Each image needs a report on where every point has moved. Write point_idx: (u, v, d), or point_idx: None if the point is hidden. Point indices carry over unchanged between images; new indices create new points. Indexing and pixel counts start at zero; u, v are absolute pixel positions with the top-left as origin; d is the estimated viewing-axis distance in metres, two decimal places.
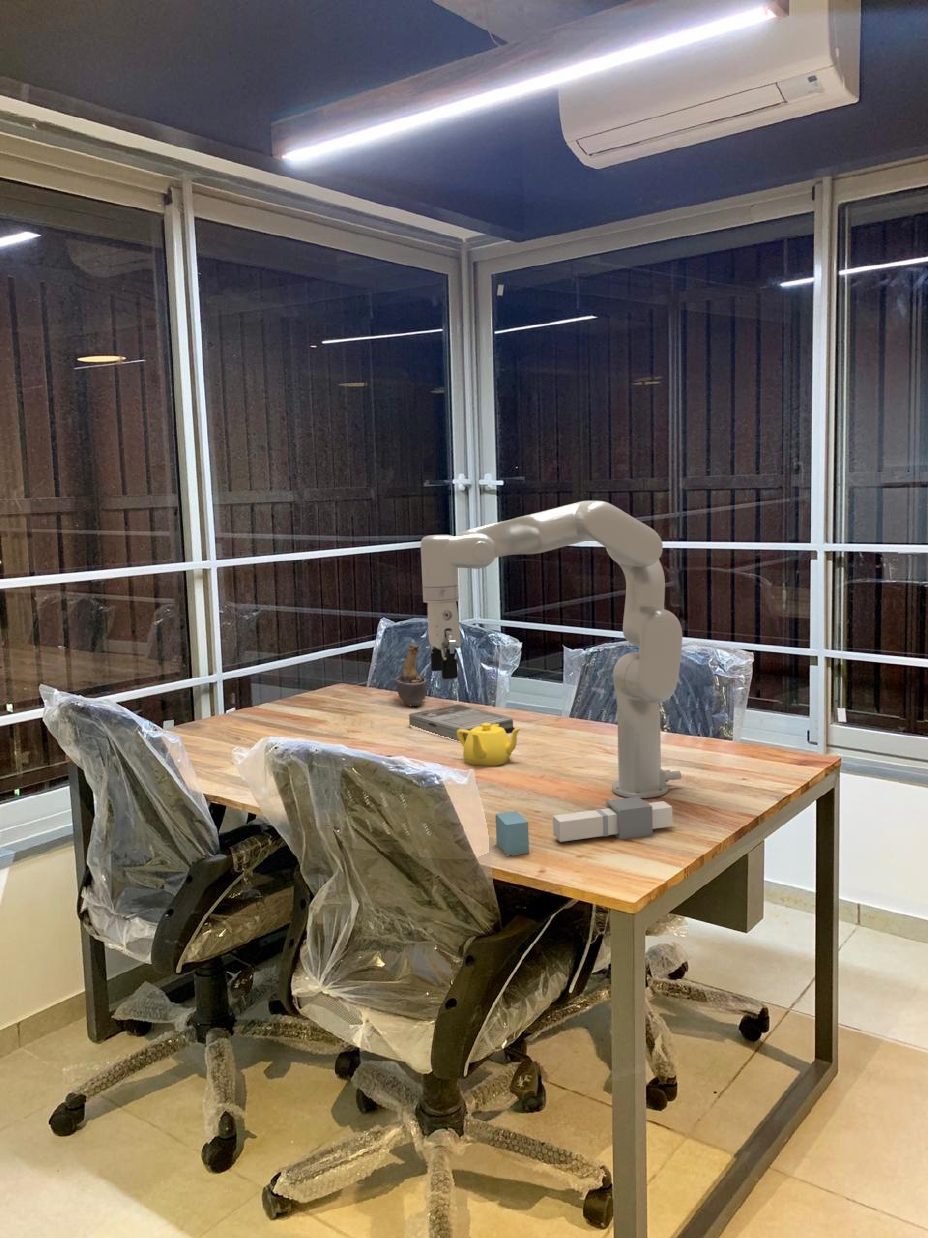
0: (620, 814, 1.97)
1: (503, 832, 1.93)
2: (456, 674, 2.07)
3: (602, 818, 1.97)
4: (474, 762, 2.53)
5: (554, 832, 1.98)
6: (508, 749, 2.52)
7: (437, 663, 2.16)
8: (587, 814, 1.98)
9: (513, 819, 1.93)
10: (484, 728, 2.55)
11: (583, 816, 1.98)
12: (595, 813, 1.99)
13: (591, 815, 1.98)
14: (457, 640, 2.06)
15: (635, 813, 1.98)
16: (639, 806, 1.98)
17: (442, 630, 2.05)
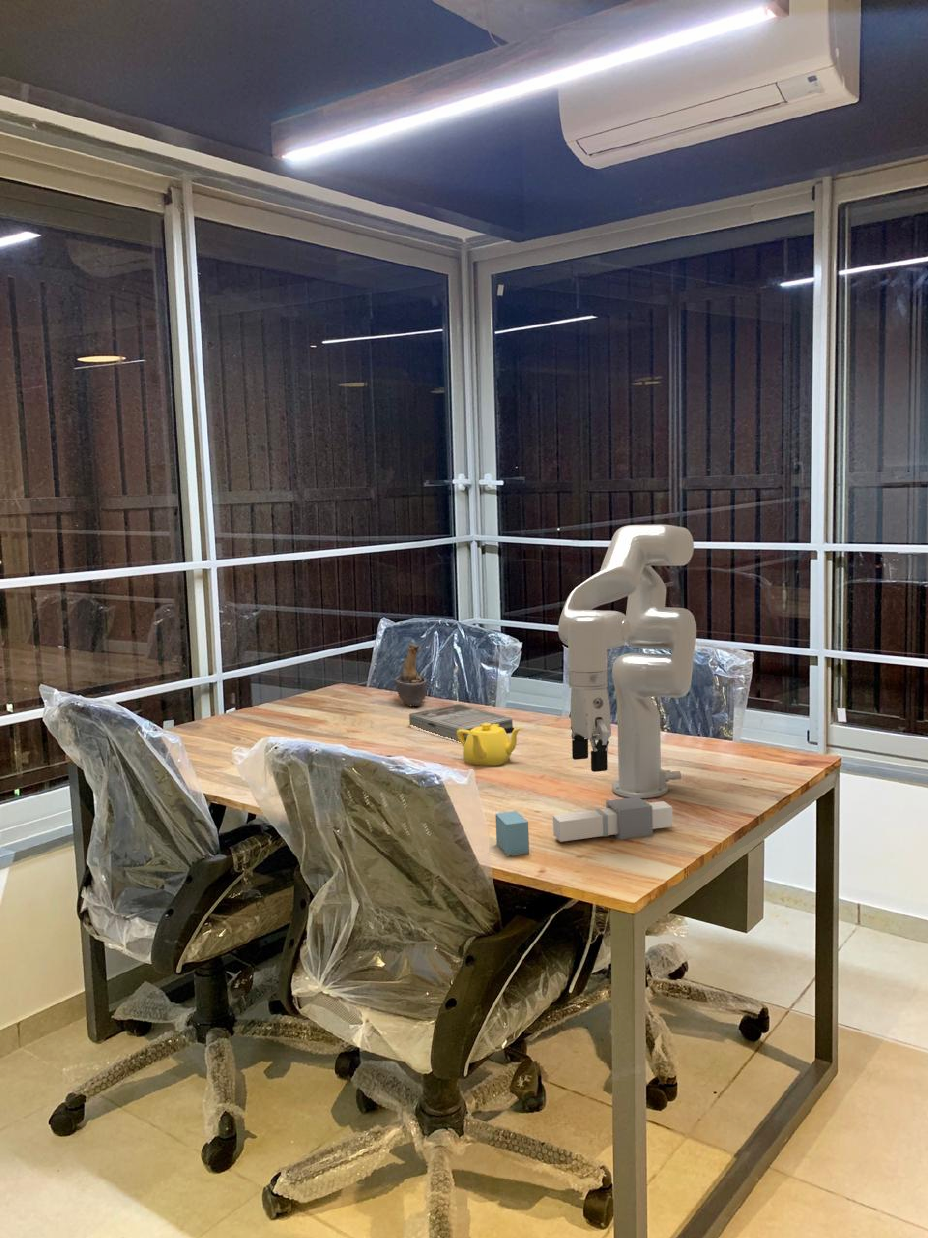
0: (620, 814, 1.97)
1: (503, 832, 1.93)
2: (606, 766, 1.92)
3: (602, 818, 1.97)
4: (474, 762, 2.53)
5: (554, 832, 1.98)
6: (508, 749, 2.52)
7: (579, 751, 2.01)
8: (587, 814, 1.98)
9: (513, 819, 1.93)
10: (484, 728, 2.55)
11: (583, 816, 1.98)
12: (595, 813, 1.99)
13: (591, 815, 1.98)
14: (608, 729, 1.92)
15: (635, 813, 1.98)
16: (639, 806, 1.98)
17: (593, 719, 1.91)
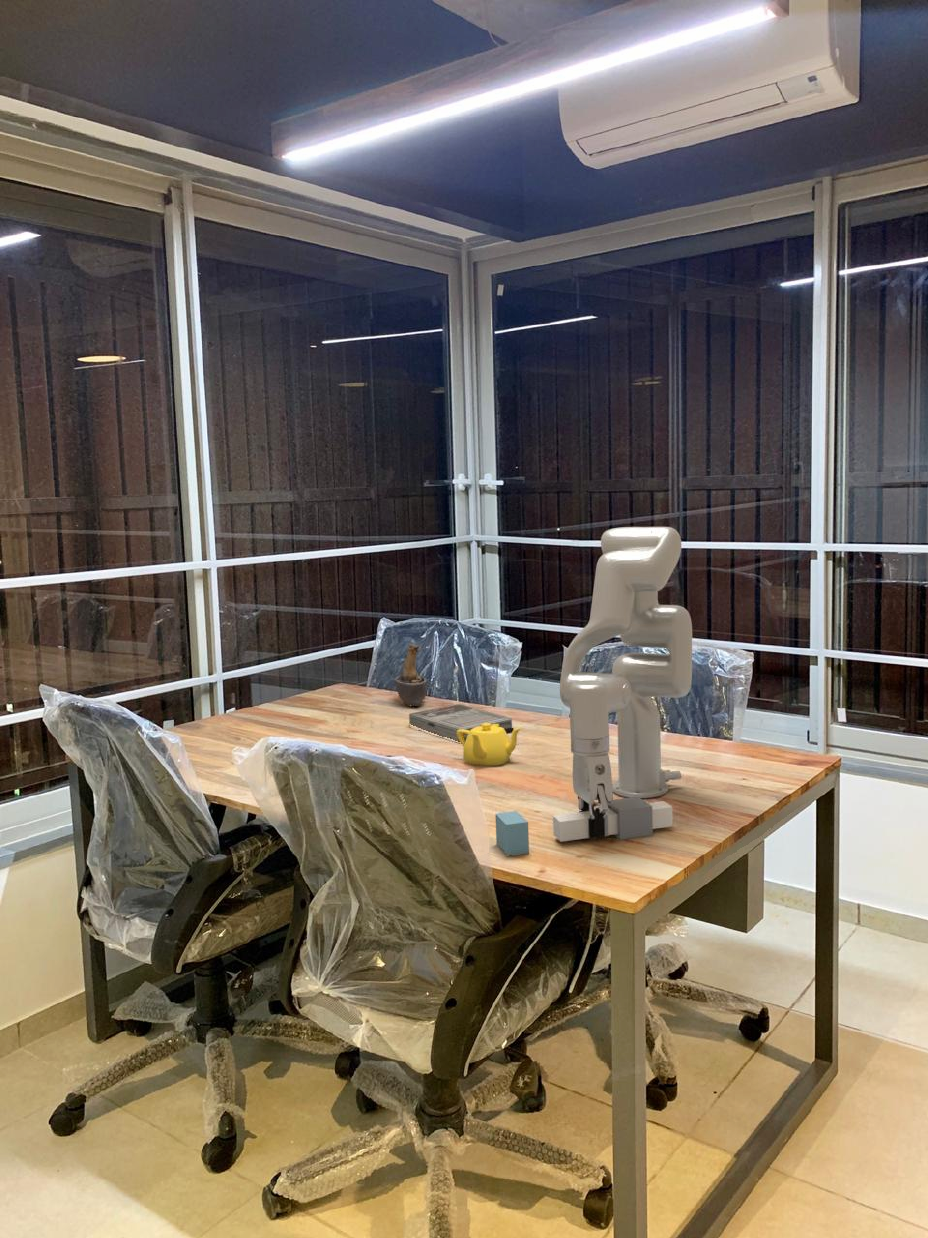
0: (620, 814, 1.97)
1: (503, 832, 1.93)
2: (603, 833, 1.97)
3: None
4: (474, 762, 2.53)
5: (555, 832, 1.98)
6: (508, 749, 2.52)
7: None
8: (587, 814, 1.98)
9: (513, 819, 1.93)
10: (484, 728, 2.55)
11: (583, 816, 1.98)
12: None
13: None
14: (610, 795, 1.94)
15: (635, 813, 1.98)
16: (639, 806, 1.98)
17: (595, 785, 1.93)
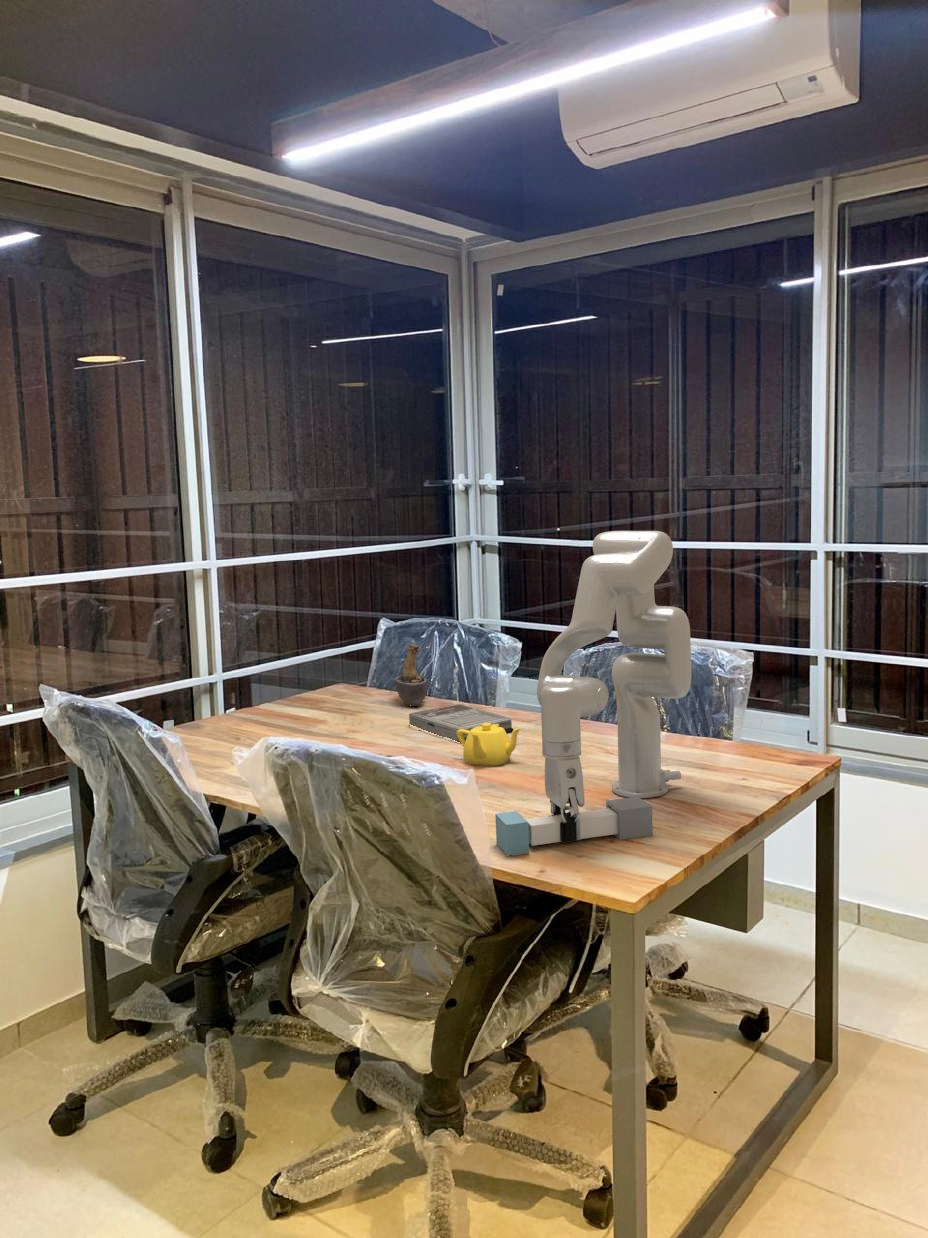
0: (620, 814, 1.97)
1: (503, 832, 1.93)
2: (575, 837, 1.95)
3: None
4: (474, 762, 2.53)
5: None
6: (508, 749, 2.52)
7: None
8: (559, 818, 1.97)
9: (513, 819, 1.93)
10: (484, 728, 2.55)
11: (555, 820, 1.96)
12: None
13: None
14: (581, 799, 1.92)
15: (635, 813, 1.98)
16: (639, 806, 1.98)
17: (566, 789, 1.91)
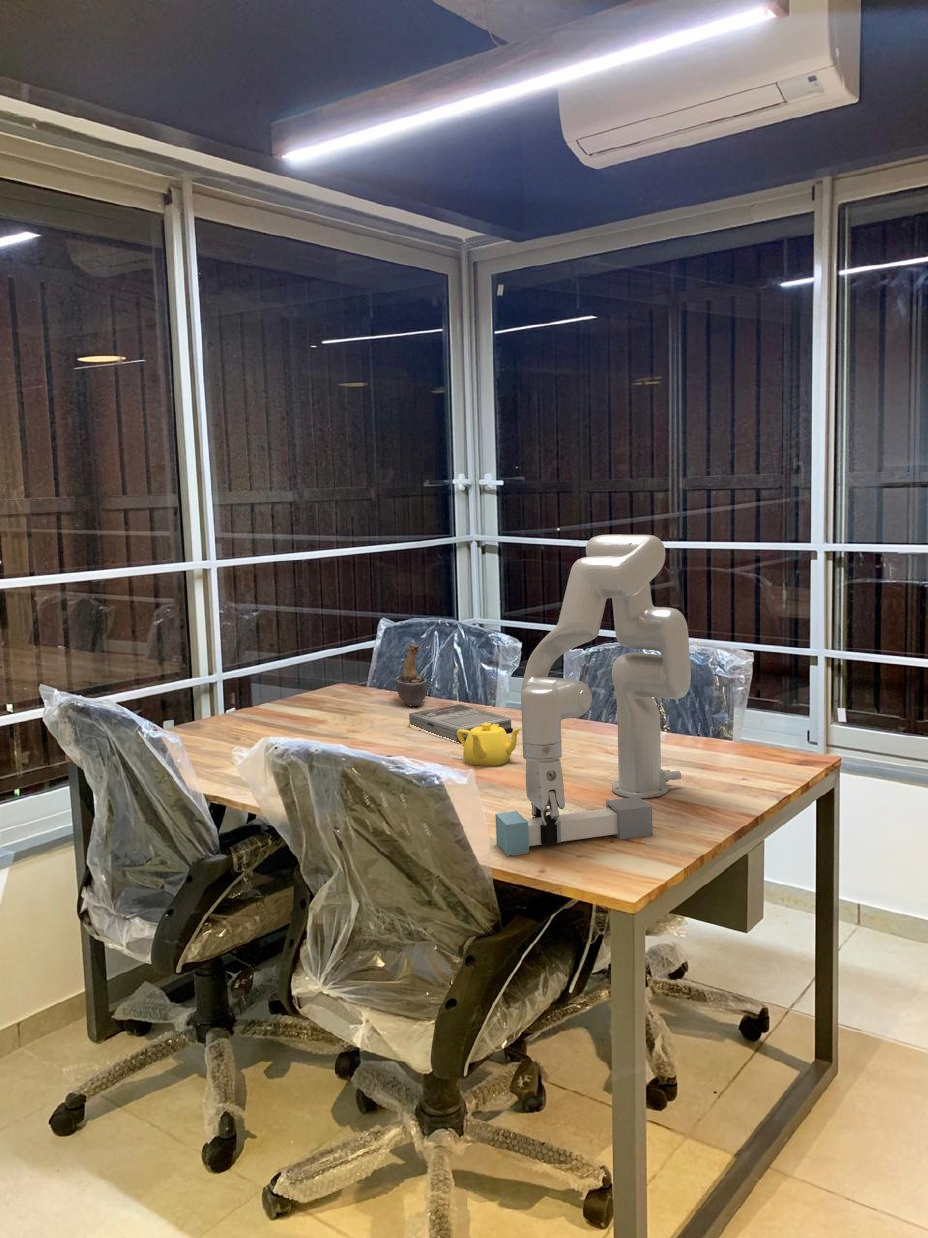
0: (620, 814, 1.97)
1: (503, 832, 1.93)
2: (556, 839, 1.94)
3: None
4: (474, 762, 2.53)
5: None
6: (508, 749, 2.52)
7: None
8: (539, 821, 1.96)
9: (513, 819, 1.93)
10: (484, 728, 2.55)
11: (535, 822, 1.95)
12: None
13: None
14: (562, 801, 1.91)
15: (635, 813, 1.98)
16: (639, 806, 1.98)
17: (546, 792, 1.90)
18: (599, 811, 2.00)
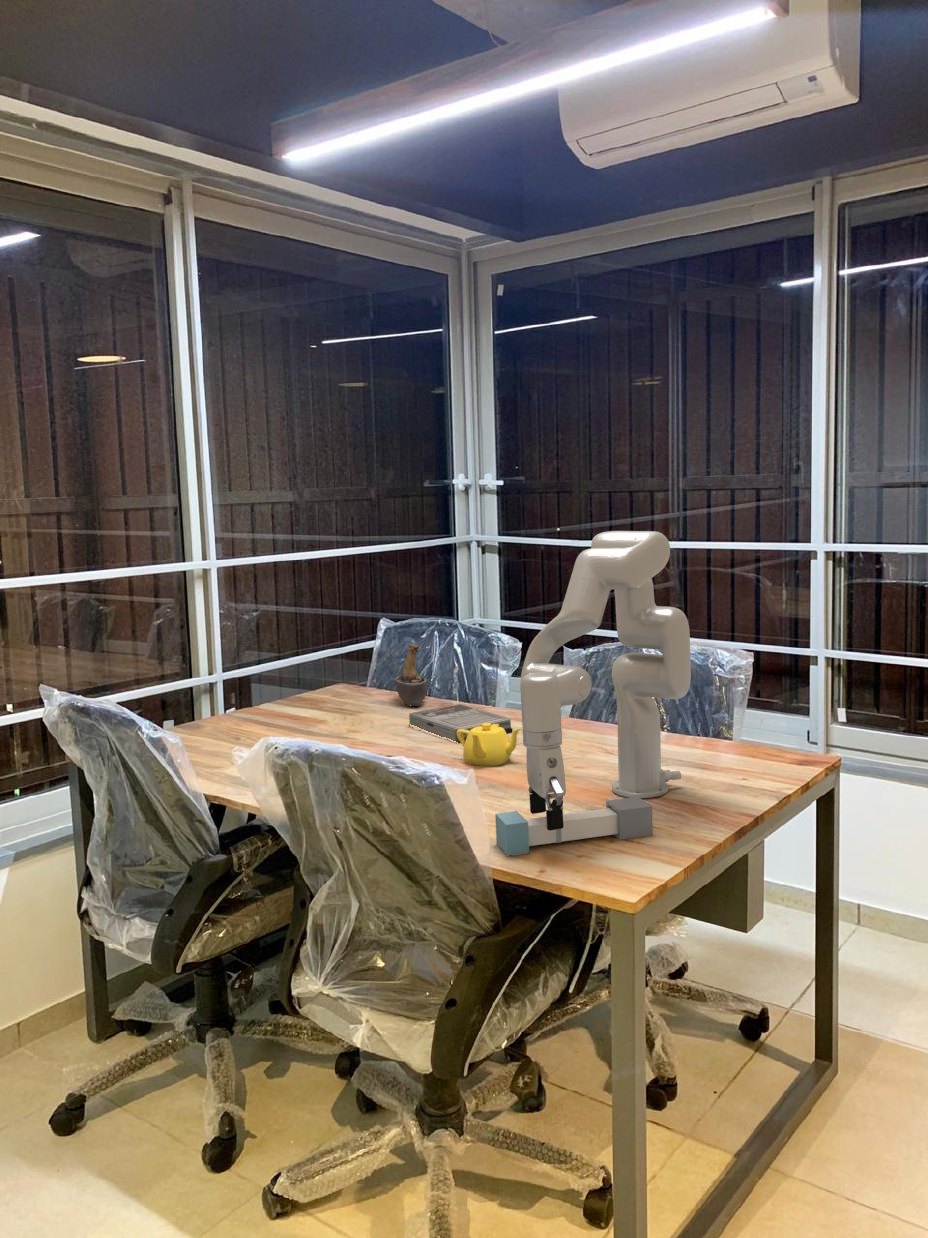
0: (620, 814, 1.97)
1: (503, 832, 1.93)
2: (562, 824, 1.92)
3: None
4: (474, 762, 2.53)
5: None
6: (508, 749, 2.52)
7: (536, 805, 2.01)
8: (540, 821, 1.96)
9: (513, 819, 1.93)
10: (484, 728, 2.55)
11: (536, 822, 1.95)
12: None
13: (544, 822, 1.95)
14: (563, 788, 1.91)
15: (635, 813, 1.98)
16: (639, 806, 1.98)
17: (547, 779, 1.90)
18: (599, 811, 2.00)
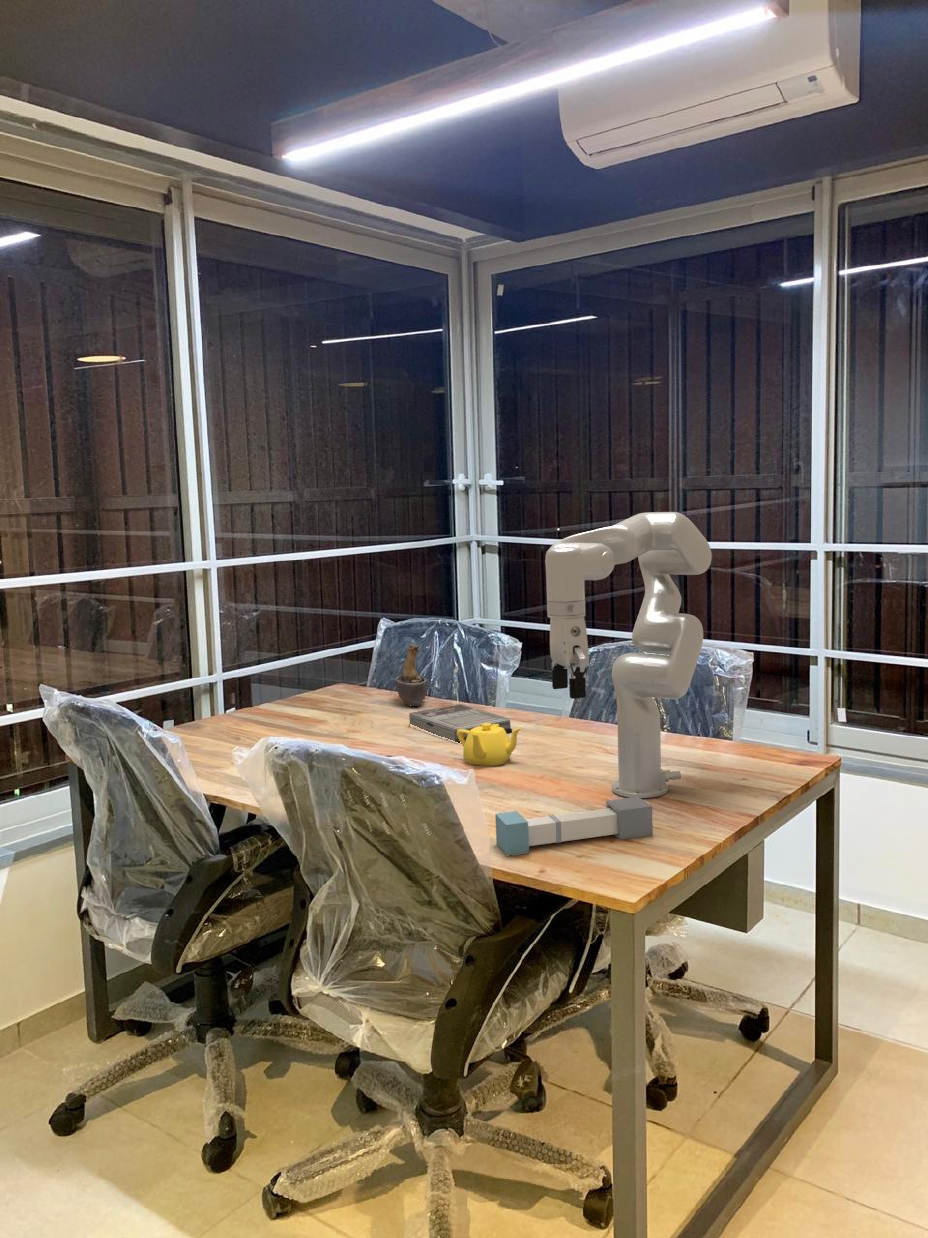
0: (620, 814, 1.97)
1: (503, 832, 1.93)
2: (584, 693, 1.97)
3: (555, 824, 1.95)
4: (474, 762, 2.53)
5: None
6: (508, 749, 2.52)
7: (559, 681, 2.06)
8: (540, 821, 1.96)
9: (513, 819, 1.93)
10: (484, 728, 2.55)
11: (536, 822, 1.95)
12: (548, 819, 1.97)
13: (544, 822, 1.95)
14: (586, 657, 1.96)
15: (635, 813, 1.98)
16: (639, 806, 1.98)
17: (570, 647, 1.95)
18: (599, 811, 2.00)
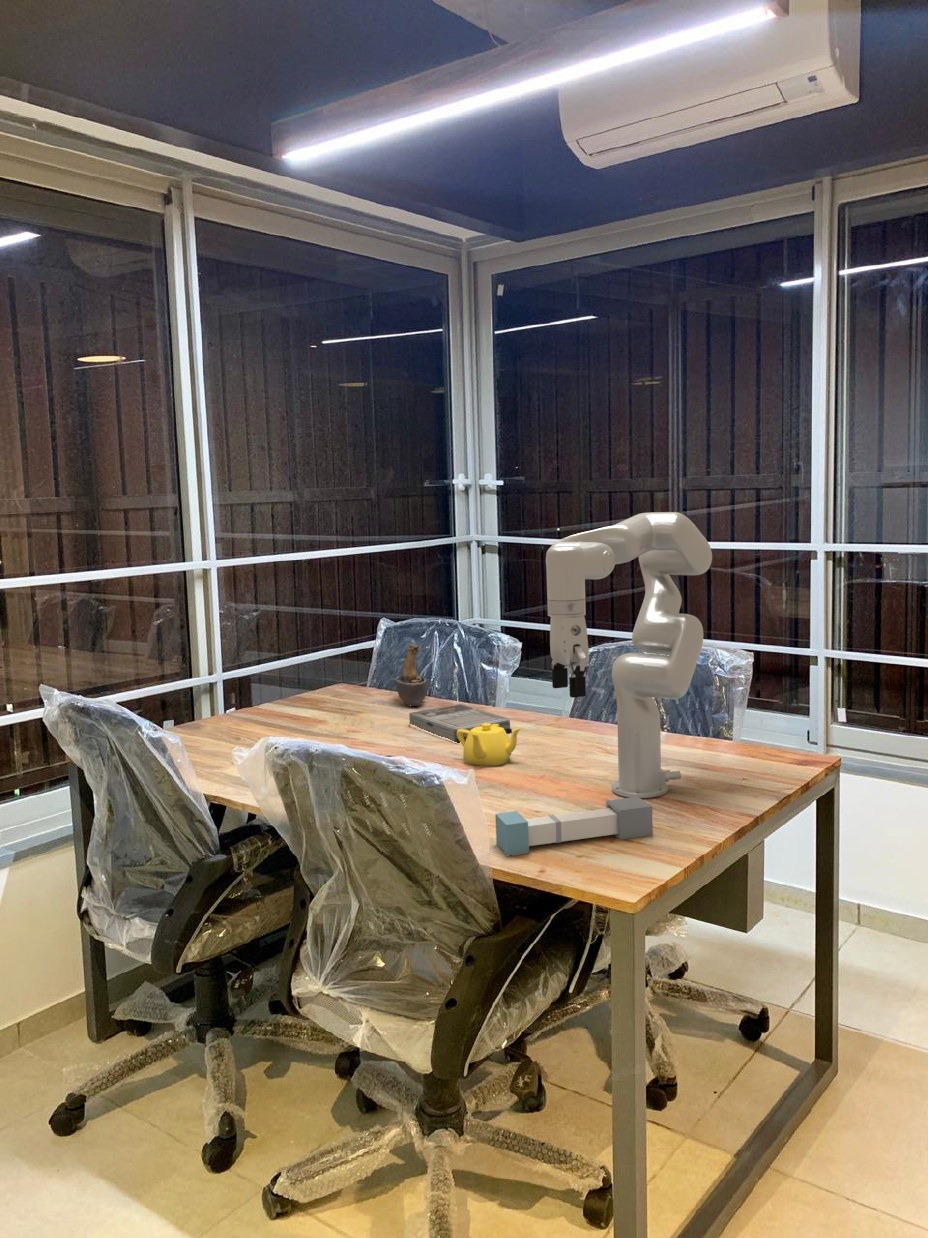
0: (620, 814, 1.97)
1: (503, 832, 1.93)
2: (584, 692, 1.97)
3: (555, 824, 1.95)
4: (474, 762, 2.53)
5: None
6: (508, 749, 2.52)
7: (559, 680, 2.06)
8: (540, 821, 1.96)
9: (513, 819, 1.93)
10: (484, 728, 2.55)
11: (536, 822, 1.95)
12: (548, 819, 1.97)
13: (544, 822, 1.95)
14: (586, 656, 1.96)
15: (635, 813, 1.98)
16: (639, 806, 1.98)
17: (571, 646, 1.95)
18: (599, 811, 2.00)
